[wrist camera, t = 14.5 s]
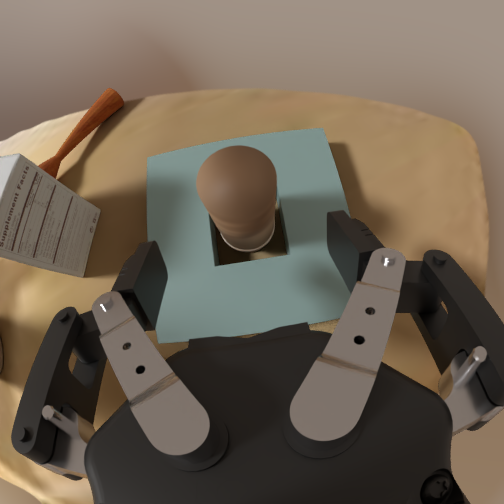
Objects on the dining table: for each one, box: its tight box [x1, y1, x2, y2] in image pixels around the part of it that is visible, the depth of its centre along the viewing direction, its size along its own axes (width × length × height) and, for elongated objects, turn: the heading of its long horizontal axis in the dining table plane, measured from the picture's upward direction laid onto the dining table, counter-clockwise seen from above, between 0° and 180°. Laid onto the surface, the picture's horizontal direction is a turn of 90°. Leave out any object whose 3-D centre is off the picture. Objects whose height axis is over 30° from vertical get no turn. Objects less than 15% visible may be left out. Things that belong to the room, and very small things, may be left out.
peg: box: [196, 145, 277, 253], centre depth 18 cm, size 4×4×10 cm
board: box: [147, 128, 351, 344], centre depth 21 cm, size 16×16×2 cm
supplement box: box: [0, 154, 101, 278], centre depth 18 cm, size 7×7×13 cm
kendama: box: [38, 88, 124, 179], centre depth 24 cm, size 6×6×20 cm
